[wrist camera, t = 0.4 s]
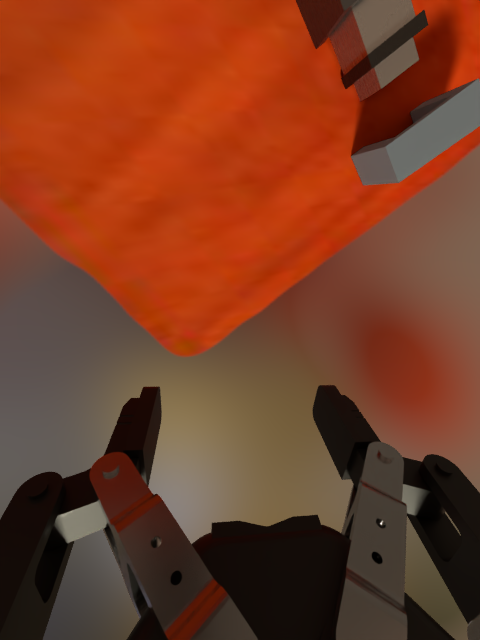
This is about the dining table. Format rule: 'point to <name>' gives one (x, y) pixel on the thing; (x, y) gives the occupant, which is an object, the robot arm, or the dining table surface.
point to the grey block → (421, 136)
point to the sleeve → (323, 16)
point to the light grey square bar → (376, 43)
